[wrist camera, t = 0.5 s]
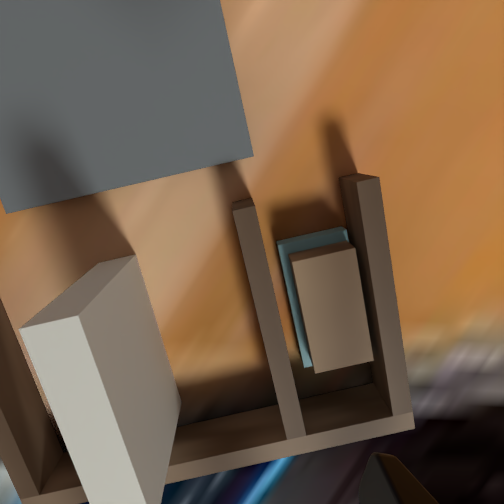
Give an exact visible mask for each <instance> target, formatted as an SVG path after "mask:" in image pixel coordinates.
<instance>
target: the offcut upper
mask: <svg viewBox="0 0 504 504" xmlns="http://www.w3.org/2000/svg"><path fill="white" fill-rule="evenodd" d="M288 257H289V261H290V266H291V271H292V276H293V280H294V285H295V290H296V295H297V299H298V304H299V309H300V314H301V318H302V323H303V328H304V333H305V337H306V342H307V347H308V352H309V356H310V360H311V363H312V366H313V369H314V371H315V374H316V373H321V372H325V371H330V370H334V369H338V368H343V367H347V366H352V365H356V364H361V363H365V362H370V361H374V359H373V353H372V347H371V341H370V335H369V329H368V323H367V316H366V310H365V304H364V298H363V292H362V286H361V280H360V274H359V268H358V261H357V255H356V249H355V247H354V246H352V245H351V244H350V243H349V242H348V241H347V240H346V241H342V242H338V243H333V244H329V245H325V246H320V247H316V248H312V249H307V250H303V251H298V252H294V253H290V254H288Z"/></svg>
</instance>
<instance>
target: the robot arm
mask: <svg viewBox="0 0 504 504" xmlns="http://www.w3.org/2000/svg"><path fill="white" fill-rule="evenodd" d="M359 504H439V503H438V502H437V501H436V500H435V499H434V498H433V496H432V495H431V494H430V493H429V492H428V491H427V490H426V489H425V488H424V487H423V486H422V484H421V483H420V482H419V481H418V480H417V479H416V478H415V477H414V476H413V475H412V474H411V472H410V471H409V470H408V469H407V468H406V467H405V466H404V465H403V464H402V463H401V462H400V460H399V459H398V458H396V457H395V456H393V455H390V454H384V453H378V452H375V453H373V454H372V455H371V456H370V458H369V460H368V463H367V466H366V468H365V471H364V474H363V476H362V479H361V482H360V486H359Z"/></svg>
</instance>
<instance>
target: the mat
mask: <svg viewBox="0 0 504 504" xmlns="http://www.w3.org/2000/svg"><path fill="white" fill-rule="evenodd" d="M253 156H254V155H253V150H252V146H251V141H250V136H249V132H248V127H247V123H246V118H245V113H244V109H243V104H242V100H241V95H240V91H239V86H238V81H237V77H236V72H235V68H234V63H233V58H232V54H231V49H230V45H229V40H228V35H227V31H226V26H225V22H224V17H223V13H222V8H221V3H220V0H0V199H1V201H2V204H3V207H4V209H5V212H6V214H7V213H12V212H16V211H20V210H25V209H29V208H33V207H37V206H42V205H46V204H50V203H55V202H59V201H63V200H68V199H72V198H76V197H81V196H85V195H89V194H93V193H98V192H102V191H106V190H111V189H115V188H119V187H124V186H128V185H132V184H136V183H141V182H145V181H149V180H154V179H158V178H162V177H167V176H171V175H175V174H179V173H184V172H188V171H192V170H197V169H201V168H205V167H210V166H214V165H218V164H222V163H227V162H231V161H235V160H240V159H244V158H248V157H253Z"/></svg>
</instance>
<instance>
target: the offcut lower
mask: <svg viewBox="0 0 504 504" xmlns="http://www.w3.org/2000/svg"><path fill="white" fill-rule="evenodd" d="M346 240H347V241H348V235H347V230H346V229H345V228H344V227H342V226H341V227H336V228H332V229H328V230H323V231H319V232H314V233H310V234H306V235H301V236H297V237H293V238H288V239H284V240H280V241H276V243H277V247H278V252H279V257H280V261H281V266H282V270H283V275H284V280H285V284H286V289H287V294H288V298H289V303H290V308H291V312H292V317H293V322H294V326H295V331H296V336H297V340H298V345H299V350H300V354H301V359H302V362H303V365H304V368H305V367H310V366H312V363H311V360H310V356H309V352H308V347H307V342H306V337H305V333H304V328H303V323H302V318H301V314H300V309H299V304H298V299H297V295H296V290H295V285H294V280H293V276H292V271H291V266H290V261H289V257H288V254H290V253H294V252H298V251H303V250H307V249H312V248H316V247H320V246H325V245H329V244H333V243H338V242H342V241H346ZM348 242H349V241H348Z"/></svg>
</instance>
